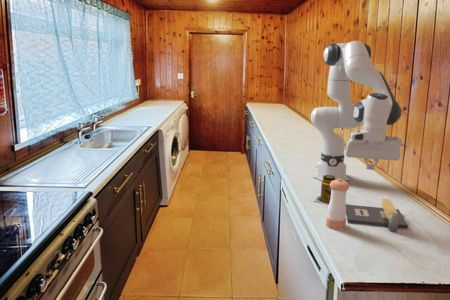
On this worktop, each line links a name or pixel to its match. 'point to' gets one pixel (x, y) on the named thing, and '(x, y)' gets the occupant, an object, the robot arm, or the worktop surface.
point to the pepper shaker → (337, 205)
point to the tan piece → (390, 214)
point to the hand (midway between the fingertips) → (370, 169)
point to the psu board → (371, 216)
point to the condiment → (325, 190)
